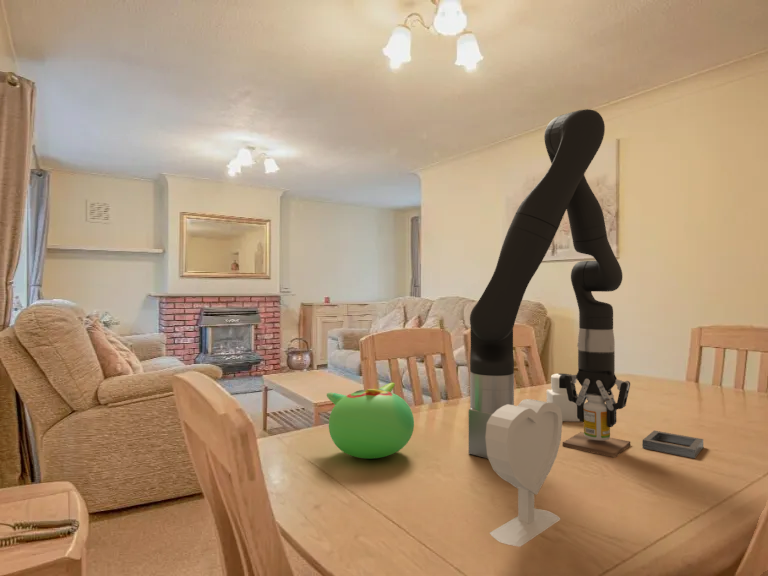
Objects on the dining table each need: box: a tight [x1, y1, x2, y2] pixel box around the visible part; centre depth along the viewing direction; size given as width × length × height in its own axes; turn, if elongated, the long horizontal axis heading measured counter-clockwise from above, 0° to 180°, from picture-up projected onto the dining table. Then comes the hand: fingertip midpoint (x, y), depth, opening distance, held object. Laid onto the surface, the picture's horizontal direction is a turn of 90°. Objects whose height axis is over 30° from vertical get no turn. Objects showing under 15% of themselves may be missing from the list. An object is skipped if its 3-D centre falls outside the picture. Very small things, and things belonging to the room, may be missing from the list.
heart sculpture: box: [485, 398, 563, 548], centre depth 70 cm, size 16×5×18 cm, turn 133°
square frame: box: [642, 430, 704, 459], centre depth 105 cm, size 10×10×2 cm
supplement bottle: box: [583, 393, 611, 440], centre depth 107 cm, size 5×5×10 cm
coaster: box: [562, 431, 631, 458], centre depth 107 cm, size 11×11×1 cm
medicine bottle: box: [546, 372, 580, 423], centre depth 130 cm, size 7×7×12 cm
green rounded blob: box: [326, 382, 415, 460], centre depth 101 cm, size 18×17×15 cm
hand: (596, 423), depth 107 cm, fingers closed on supplement bottle, 5 cm apart
